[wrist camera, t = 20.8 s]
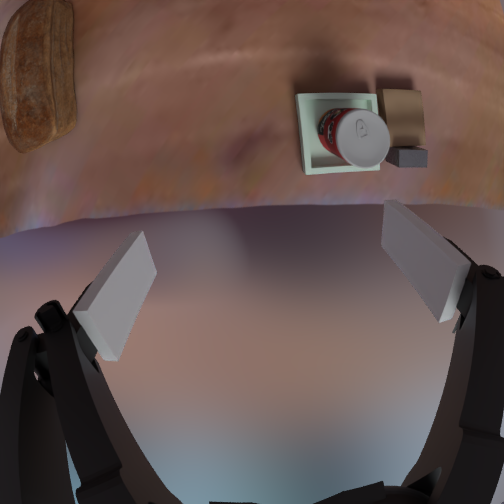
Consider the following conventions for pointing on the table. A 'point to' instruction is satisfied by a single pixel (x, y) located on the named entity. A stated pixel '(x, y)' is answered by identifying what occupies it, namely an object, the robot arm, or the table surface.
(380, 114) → the tan block
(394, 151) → the bench dog
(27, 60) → the bread
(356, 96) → the tray
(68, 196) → the table surface
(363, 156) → the canned food
